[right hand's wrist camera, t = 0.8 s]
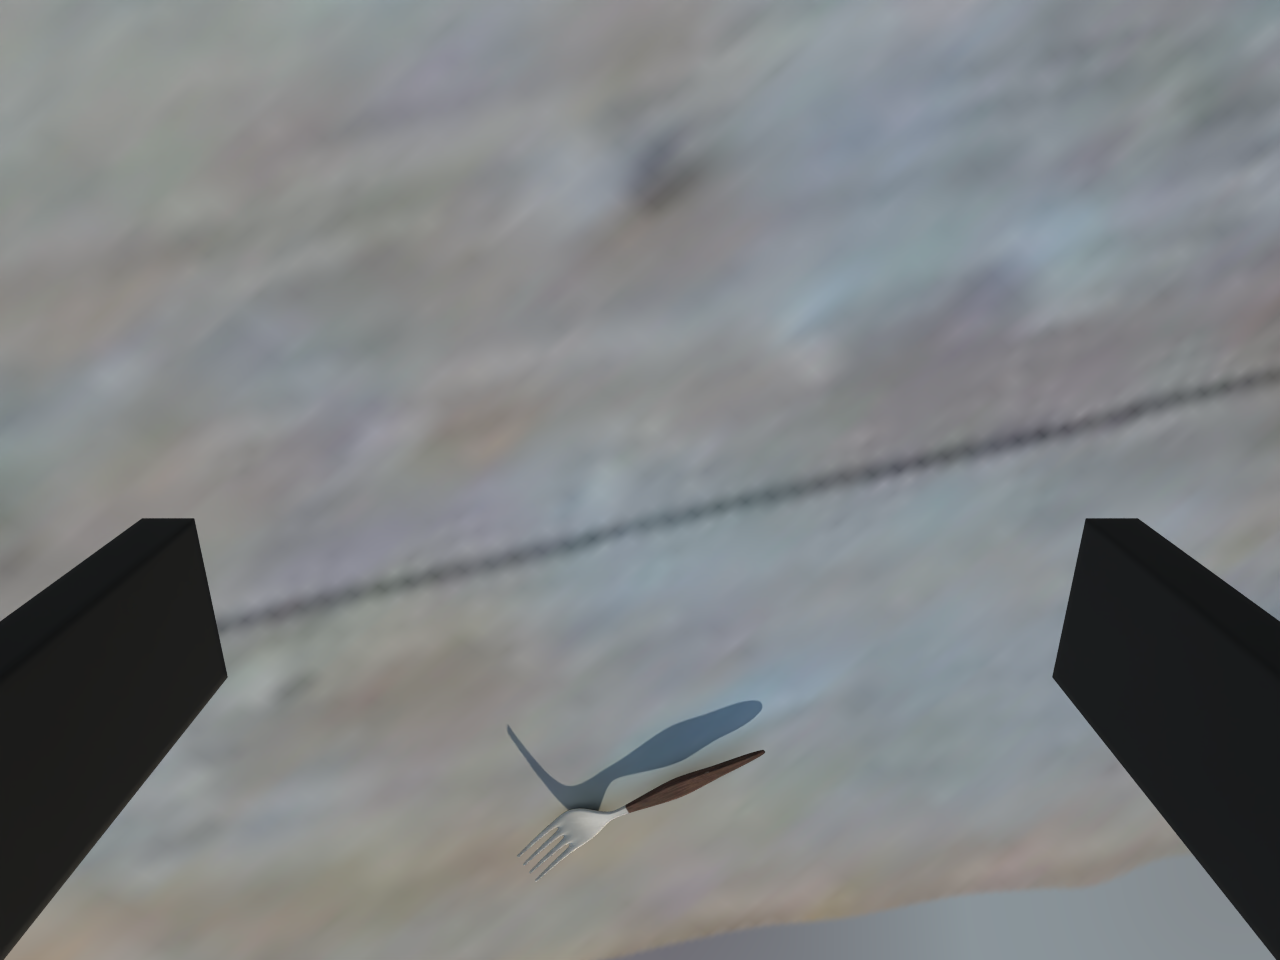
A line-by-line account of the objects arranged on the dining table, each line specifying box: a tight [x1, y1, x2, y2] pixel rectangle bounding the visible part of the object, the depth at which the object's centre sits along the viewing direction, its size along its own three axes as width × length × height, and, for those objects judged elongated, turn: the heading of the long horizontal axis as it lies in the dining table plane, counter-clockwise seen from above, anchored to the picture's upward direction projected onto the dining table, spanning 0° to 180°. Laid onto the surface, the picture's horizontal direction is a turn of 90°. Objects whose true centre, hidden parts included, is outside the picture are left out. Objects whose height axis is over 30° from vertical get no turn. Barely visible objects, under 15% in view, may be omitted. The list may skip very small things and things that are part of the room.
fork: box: [517, 750, 765, 882], centre depth 49 cm, size 3×16×2 cm, turn 118°
